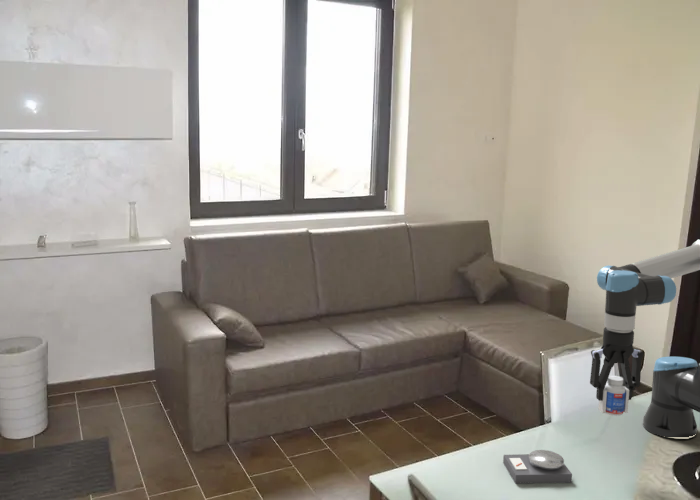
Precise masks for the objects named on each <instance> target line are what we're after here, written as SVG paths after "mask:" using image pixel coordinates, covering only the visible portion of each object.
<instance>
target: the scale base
mask: <svg viewBox="0 0 700 500" xmlns="http://www.w3.org/2000/svg"><path fill="white" fill-rule="evenodd" d="M529 454H530V453H529ZM529 454H521V453H519V454H503V460H502V463H503V465H504V468H506V470H507V471H508V473H509V475H510V477H511V478H512V480H513V482H514V484H556V483H557V484H560V483H562V484H564V483H567V484H569V483H572V482H573V481H572V480H573V479H572V478H573V473H572V472H571V470H570V469H569V468H568V467H567V465H566V464H565V463H564V465H563V467H561V468H559V469H555V470H548V469H542V468H539V467H536V466H534V465H533V464H532V463H530V461H529Z"/></svg>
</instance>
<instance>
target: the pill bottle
mask: <svg viewBox="0 0 700 500" xmlns="http://www.w3.org/2000/svg"><path fill="white" fill-rule="evenodd" d="M624 386H625V385H624V378H623V376H618V375H609V377H608V380H607V383H606V385H605V389H606V390H607V399H606V412H605V413H604V414H607V415H610V416H616V417H617V416H618V417H619V416H622V415H623V414H624V413H625V412H624V400H625V387H626V386H625V387H624Z"/></svg>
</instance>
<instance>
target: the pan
mask: <svg viewBox="0 0 700 500" xmlns="http://www.w3.org/2000/svg"><path fill="white" fill-rule="evenodd" d="M529 461H530V463H532V464H533V465H534V466H536V467H539V468H542V469H548V470H555V469H559V468H561V467H563V465H564V464H565V463H564V462H565V460H564V457H563V456H562V455H560V454H559V453H557V452H554V451H551V450H546V449H537V450H533V451H531V452H529Z"/></svg>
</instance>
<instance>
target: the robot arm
mask: <svg viewBox="0 0 700 500" xmlns="http://www.w3.org/2000/svg"><path fill="white" fill-rule="evenodd" d="M697 271H700V239H697V240H696V241H694V242H693V243H692V244H691V245H690V246H687V247H683V248H680V249H677V250H673V251H670V252H666V253H663V254H659V255H656V256H653V257H649V258H646V259H643V260H639V261H636V262H633V263H629V264H626V265H625V264H624V265H621V266H616V265H605V266H603V267H602V268H600V269H599V270H598V272H597V276H596V283H597V285H598V287H599V288H600V289H602V290H604V291H605V305H604V307H605V308H604V309H605V310H604V323H603V326H604V328H603V334H602V335H603V336H602V345H601V347H600V349H598V350H596V349H591V351H590V355H591V369H590V377H589V379H590V380H589V384H590V385H591V386H592V387H593V388H595V389H596V393H595V394H596V396H595V398H596V400H598V411H600V413H602V414H606V413H605V412H606V399H607V390H606V389H605V385H606V384H607V383H608V382H607V380H608V377H609V376H610V374H611V371H612V368H613V367H614V365H615V364H618V363H619V364H620V368H621V369H620V370H621V374H622V378H623V384H624V385H623V386H624V387H625V400H624V412H623V413H625V414H626V413H629V412H628V411H629V401H631V400H632V396H633V391H635V388H639V387H640V386H641V374H642V372H641V371H642V370H641V369H642V360H643V356H644V354H645V353H644V351H642V350H640V349H638V348H636V349H635V348H634V346H633V344H634V339H635V338H634V337H635V331H634V329H635V326H636V315H637V314H636V312H637V307H641V306H651V305H652V306H653V305H654V306H655V305H659V306H660V305H665V304H668V303H670V302H672V301H673V300H674V299H675V298H676V296H677V285H676V282H674V280H673V279H674V278H677V277H680V276H684V275H687V274H690V273H695V272H697ZM602 356H604V359H603V364H602V361H601V359H602V358H603V357H602ZM631 356H632V358H631ZM629 358H631V359H632V360H631V369H630V361H629ZM601 364H602V368H601ZM651 385H652V388H651V398H650V399H651V400H650V403H649V406H648V407H647V410H646V412H645V414H644V416H643V419H642V420H643V421H642V426H643V428H644V429H645V430H646V431H648V432H650V433H651V434H653V433H654V434H653V435H655V434H657V435H656V436H658V435H661V436H665V437H689V436H693V435H695V434H696V433H697V434H698V425H697V421H696V417H695V414H694V411H695V412H697V413H700V363H698V362H697V360H696V359H693V358H690V357H685V356H662V357H658V358H657V359H656V360H655V362H654V367H653V371H652V383H651ZM661 436H660V437H661ZM665 437H664V438H665Z"/></svg>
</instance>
